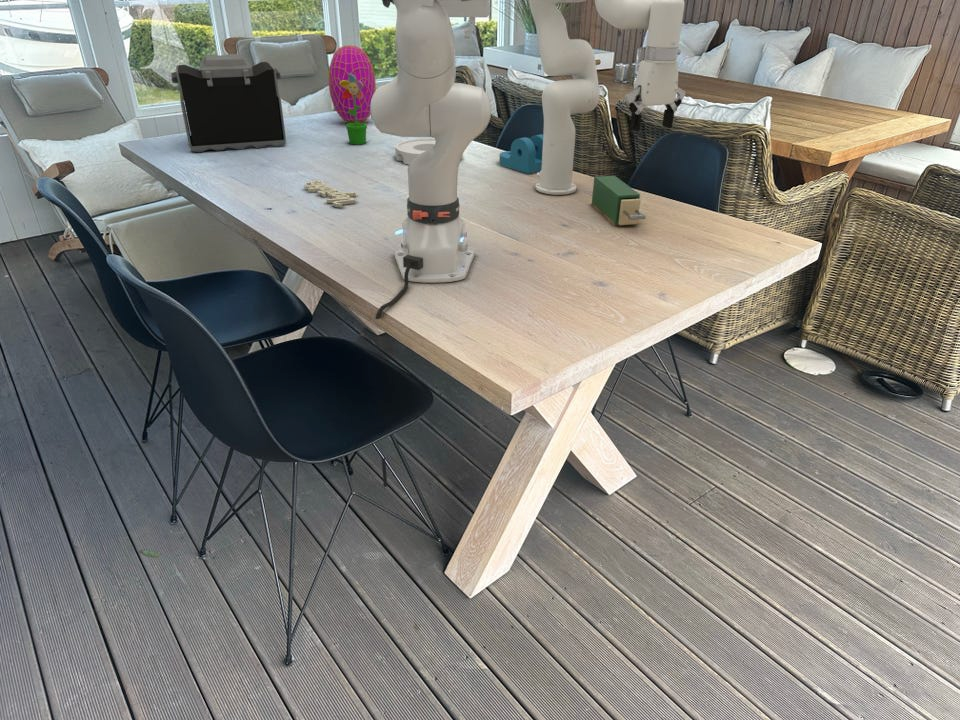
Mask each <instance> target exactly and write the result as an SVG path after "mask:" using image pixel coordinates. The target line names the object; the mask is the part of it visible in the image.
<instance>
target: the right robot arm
mask: <svg viewBox="0 0 960 720" xmlns="http://www.w3.org/2000/svg"><path fill="white" fill-rule="evenodd" d="M586 1H587V0H528V4H529V9H530V12H531V15H532V19H533V21H534V24H535V30H536V35H537V42H538V43H537V44H538V49H539V56H540V62H541V67H542V69H543V73H544V74H546V75H547V76H550V77H566V76H572V78H571V79H569V78H568V79H560V80H555V81H552V82H549V83H548V84H547V85H546V86H545V87H543V91H542V93H541V105H542V113H543V114H542V115H543V151H542V169H541V171H539V172H536V173H535V176H536V177H537V178H539V181H538V182H536V183H535V186H534V187H535V190H536V191H537V192H539V193H541V194H546V195H551V196H552V195H553V196H565V195H571V194H573V193H575V192H576V191H577V185H576V184H575V183H574V182H573V173H574V172H573V171H574V159H575V158H574V157H575V147H576V134H577V133H576V125H575V123H574V122H573V120H572V117H571V115H575V114H585V113H589V112H593V111H594V110H595V109H596V108H597V107H598V104H599V101H600V85H599V79H598V78H599V77H598V71H597V70H598V69H597V63H596V57H595V52H594V49H593V48H592V45H591V44H590V43H589V42H588V41H587V40H585V39H580V38H575V39H574V38H572V39H571V38H570V37H569V33H568V27H567V22H566V19H565V17H564V15H563V13H562V11H560V9H559V8H558V7H557V4H570V3H571V4H572V3H575V4H576V3H577V4H578V3H584V2H586ZM594 5H595V9H596V12H597V14H598V15H599V16H600V18H602V19H603V20H605V21H606V22H607V23H608V24H609V25H611V26H613V27H614V28H616V29H619V30H624V31H625V30H646V29H647V35H646V36H647V37H646V44H645V45H646V46H645V51H644V59H643V60H641V61H640V63H639V66H638V70H637V73H636V78H635V82H634V88H633V89H632V90H630V91H629V92H628V93H626V94H624V100H625V103H626V107H627V109H628V110H629V112H630V113H631V116H630V123H629V124H630V130H632V131H635V132H640V131H641V126H642V125H641V124H642V114H641V112H642V111H643V110H644V108H645V107H652V106H664V107H665V108H666V109H664V110H663V119H662V125H661V126H662V127H664V128H667V129H672V128H673V124H674V118H675V113H676V112H677V111H678V108H679V106H680V105H681V104H682V102H683V100H684V98H685V96H686V91H685V90H684V89H682V88H681V87H679V85H678V84H679V61H678V60H677V59H678V56H679V55H681V53H682V50H681V49H680V48H679V46H680V37H681V33H682V32H681V31H682V24H683V17H684V12H685V0H594Z"/></svg>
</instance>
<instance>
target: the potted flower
mask: <svg viewBox="0 0 960 720" xmlns="http://www.w3.org/2000/svg"><path fill="white" fill-rule="evenodd" d="M348 78H349V81H346V80H342V81H341V82H340V83H339V84H340V85H341V86H342V87H343V88H346V89H347V90H345V91H344V93H343V94H342V97H341V99H348V98H350V97H351V96H352V95H353V100H354V110H349V111H348V112H349V114H351V115H355V123H349V122H348V123H347V124H346V125H345V128H346V131H347V136H348V141H349V144H352V145H363V144H366V143H367V129H368V124H367V123H366V122H365V123H364V122H361V123H357V116H356V110H358V109H359V106H356V103H355V95H356V97H357V98H358V99H359V100H362V98H363V93H362V92H361V91H360V90H361V89H363V84H362V82H361V81H358V82H357V83H356V78H355V76H354V75H352V74H350V73H348Z"/></svg>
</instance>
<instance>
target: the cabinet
mask: <svg viewBox="0 0 960 720" xmlns="http://www.w3.org/2000/svg"><path fill="white" fill-rule="evenodd" d="M620 198H634V199H640V198H641V194H640V193H639V192H637V191H636V190H635V189H633V188H632V187H631V186H630V185H628V184H626V183H625V182H624V181H623V180H622V179H620V178H619V177H617V176H616V175H602V176H599V175H598V176H594V177H593V186H592V196H591V204H590V205H591V206H592V207H593V208H594V209H595V210H596V211H597V212H598V213H600V214H601V215H602V216H603V217H604V218H605V219H606V220H607V221H609V223H611V224H612V225H613V226H614V227H619V226H621V227H622V226H623V225H619V224H618V222H619V221H618V215H619V207H620ZM640 200H641V199H640ZM636 225H637V224H629V225H628V226H636Z"/></svg>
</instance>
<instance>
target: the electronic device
mask: <svg viewBox="0 0 960 720" xmlns="http://www.w3.org/2000/svg"><path fill="white" fill-rule="evenodd" d="M203 55H204V56H203V60H201V61H199V63H198V65H199V68H200V69H198V68H195V67H192V66H190V65H187V64H177V65H176V66H175V69H176V70H175V72H170V74H171V75H170V79H171V83H172V84H177V85H178V91H179V99H180V100H179V102H180V108H181V113H182V117H183V122H184V127H185V132H186V138H187V143H188V146H189V149H190V150H191V152H194V153H204V152H206V151H208V150H213V151H216V152H219V151H224V150H226V149H234V150H244V149H246V148H248V147H253V148H255V149H260V148H265V147H266V146H272V147H282V146H284V145H286V141H287V137H286V130H285V120H284V112H283V105H282V98H281V96H280V92H279V86H278V79H282V77H281V72H280V71H279V70H278V69H277V68H274V67H273V66H272V65H271V63H270V62H269V61H260V62H259V63H256V64H254V65H251V64H250V63H249V61H248V60H246V59H244V57H243V56H242V54H241V53H228V54H224V55H223V54H222V55H220V54H219V55H217V54H203Z"/></svg>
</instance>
